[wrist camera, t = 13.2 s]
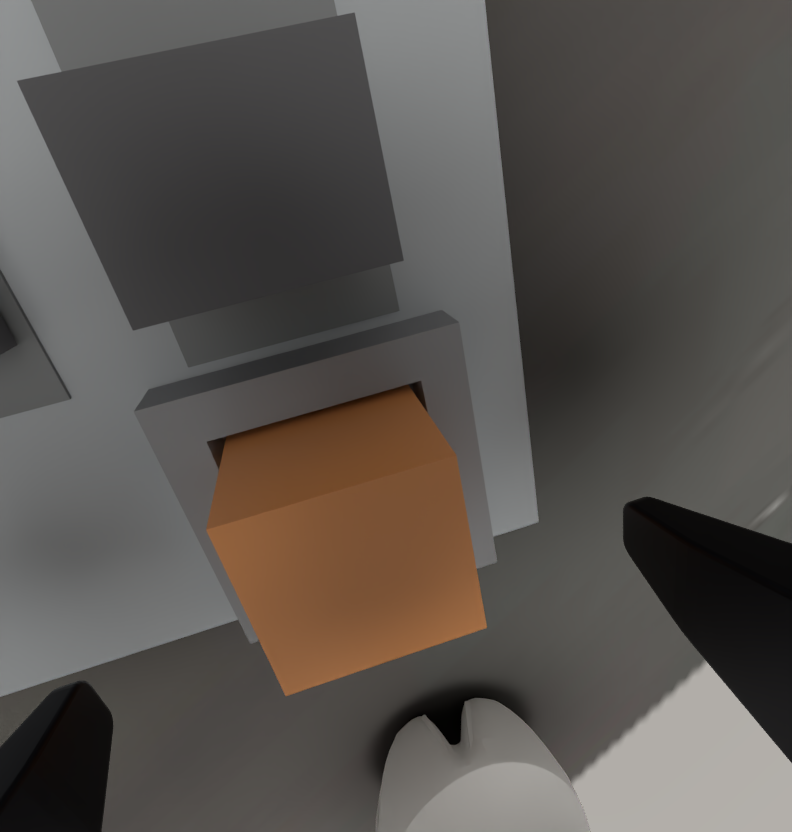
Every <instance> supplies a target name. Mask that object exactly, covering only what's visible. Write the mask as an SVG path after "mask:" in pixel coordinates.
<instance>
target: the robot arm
mask: <svg viewBox="0 0 792 832" xmlns="http://www.w3.org/2000/svg"><path fill="white" fill-rule="evenodd" d="M623 541H624V545H625V548H626V550H627V552H628V554H629V555H630V557H631V558H632V560H633V561H634V563H635V564H636V566H637V567H638V569H639V570H640V572H641V573H642V574H643V576H644V577H645V579H646V580H647V582H648V583H649V585H650V586H651V588H652V589H653V591H654V592H655V593H656V595H657V596H658V598H659V599H660V601H661V602H662V604H663V605H664V607H665V608H666V610H667V611H668V612H669V614H670V615H671V617H672V618H673V620H674V621H675V622H676V624H677V625H678V627H679V628H680V629H681V631H682V632H683V633H684V635H685V636H686V637H687V638H688V640H689V641H690V642H691V643H692V645H693V646H694V647H695V648H696V649H697V651H698V652H699V653H700V654H701V655H702V656H703V658H704V659H705V660H706V661H707V662H708V664H709V665H710V666H711V667H712V668H713V670H714V671H715V672H716V673H717V674H718V676H719V677H720V678H721V679H722V680H723V682H724V683H725V684H726V685H727V686H728V687H729V689H730V690H731V691H732V692H733V693H734V695H735V696H736V697H737V698H738V699H739V701H740V702H741V703H742V704H743V705H744V706H745V708H746V709H747V710H748V711H749V713H750V714H751V715H752V716H753V717H754V719H755V720H756V721H757V722H758V723H759V724H760V726H761V727H762V728H763V729H764V730H765V731H766V733H767V734H768V735H769V736H770V738H771V739H772V740H773V741H774V742H775V744H776V745H777V746H778V747H779V748H780V749H781V750H782V752H783V753H784V754H785V755H786V757H787V758H788V759H789V760H790V761H791V762H792V543H788V542H785V541H782V540H779V539H776V538H773V537H770V536H767V535H764V534H761V533H758V532H755V531H752V530H749V529H746V528H743V527H740V526H737V525H734V524H731V523H728V522H725V521H722V520H719V519H716V518H713V517H710V516H707V515H704V514H701V513H697V512H694V511H691V510H688V509H685V508H682V507H679V506H676V505H673V504H670V503H667V502H664V501H661V500H658V499H655V498H652V497H643V498H640V499H637V500H634V501H631V502H628V503H626V504H625V506H624V508H623ZM112 734H113V719H112V715H111V712H110V710H109V709H108V707H107V706H106V705H105V704H104V702H103V701H102V700H101V698H100V697H99V696H98V694H97V693H96V692H95V690H94V689H93V688H92V686H91V685H90V684H89V683H88V682H86V681H77V682H74V683H71V684H68V685H65V686H62V687H59V688H57V689H55V690H53V691H52V692H51V693H50V694H49V695H48V696H47V697H46V698H45V699H44V700H43V701H42V702H41V704H40V705H39V706H38V707H37V708H36V709H35V710H34V711H33V712H32V713H31V714H30V716H29V717H28V718H27V719H26V720H25V721H24V722H23V723H22V724H21V725H20V726H19V727H18V729H17V730H16V731H15V732H14V733H13V734H12V735H11V736H10V737H9V738H8V739H7V740H6V742H5V743H4V744H3V745H2V746H1V747H0V832H101V830H102V822H103V814H104V805H105V796H106V787H107V779H108V770H109V761H110V752H111V743H112Z"/></svg>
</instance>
